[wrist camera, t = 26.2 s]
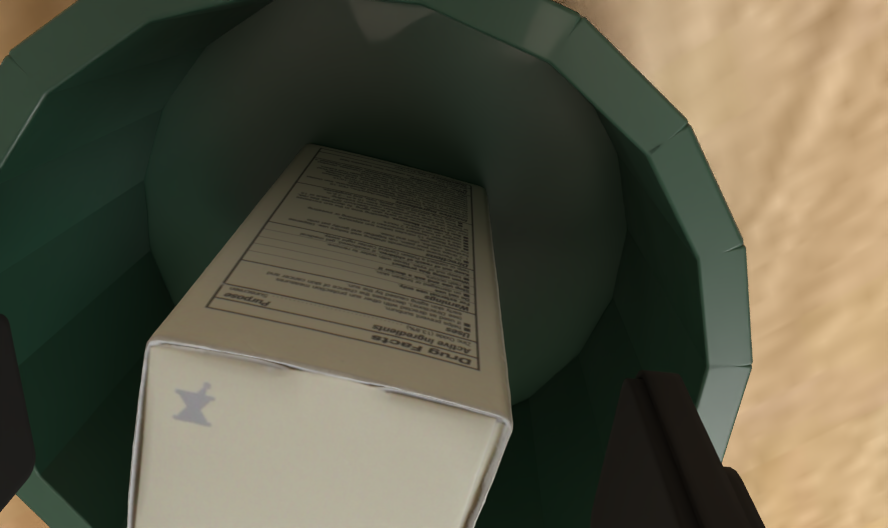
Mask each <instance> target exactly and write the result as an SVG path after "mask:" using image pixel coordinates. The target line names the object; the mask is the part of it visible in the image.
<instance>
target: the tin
mask: <svg viewBox="0 0 888 528" xmlns="http://www.w3.org/2000/svg"><path fill="white" fill-rule="evenodd" d="M307 144H315V145H319V146H324V147H329V148H333V149H338V150H342V151H347V152H351V153H355V154H360V155H364V156H367V157H372V158H376V159H380V160H384V161H388V162H392V163H396V164H400V165H404V166H408V167H412V168H416V169H420V170H423V171H427V172H431V173H434V174H438V175H442V176H446V177H449V178H452V179H456V180H460V181H463V182H467V183H470V184H474V185H478V186H480V187H482V188H484V189H485V190H486V192H487V197H488V206H489V216H490V223H491V230H492V242H493V250H494V259H495V266H496V273H497V281H498V288H499V300H500V309H501V320H502V327H503V335H504V344H505V352H506V359H507V366H508V380H509V387H510V394H511V409H512V418H513V431H512V433H511V436H510V438H509V441H508V443H507V445H506V448H505V451H504V453H503V456H502V459H501V461H500V464H499V467H498V470H497V472H496V475H495V478H494V480H493V483H492V485H491V487H490V490H489V492H488V494H487V497H486V500H485V503H484V505H483V507H482V510H481V512H480V514H479V516H478V519H477V521H476V524H475V527H474V528H590V525H591V513H592V508H593V504H594V499H595V495H596V491H597V487H598V483H599V479H600V475H601V470H602V466H603V462H604V458H605V454H606V450H607V446H608V441H609V437H610V433H611V429H612V425H613V421H614V417H615V412H616V408H617V404H618V400H619V396H620V392H621V388H622V384H623V382H624V380H625V379H626V378H632V379H635V378H636V375H637V373H638V372H639V371H640V370H648V371H658V372H667V373H676V374H679V375H680V376H681V378H682V380H683V382H684V384H685V386H686V388H687V390H688V392H689V395H690V397H691V399H692V401H693V403H694V405H695V407H696V410H697V412H698V414H699V416H700V418H701V420H702V422H703V425H704V427H705V429H706V431H707V433H708V435H709V437H710V440H711V442H712V444H713V446H714V448H715V450H716V452H717V455H718V457H719V459H720V461H721V463H722V460H723V457H724V454H725V451H726V448H727V445H728V441H729V438H730V435H731V432H732V429H733V426H734V423H735V419H736V416H737V413H738V410H739V407H740V404H741V400H742V397H743V394H744V391H745V388H746V385H747V382H748V378H749V375H750V372H751V369H752V365H751V364H752V362H753V359H752V342H751V325H750V308H749V292H748V275H747V258H746V247H745V245H744V244H743V238H742V236H741V233H740V231H739V229H738V227H737V225H736V222H735V220H734V218H733V216H732V214H731V212H730V209H729V207H728V205H727V203H726V201H725V198H724V196H723V194H722V192H721V190H720V188H719V185H718V183H717V181H716V179H715V177H714V174H713V172H712V170H711V168H710V166H709V164H708V161H707V159H706V157H705V155H704V153H703V151H702V148H701V146H700V144H699V142H698V140H697V137H696V135H695V133H694V131H693V129H692V127H691V125H689V124H688V120H687V119H686V118H685V117H684V116H683V115H682V114H681V113H680V112H679V111H678V110H677V109H676V108H675V107H674V106H673V105H672V104H671V103H670V102H669V101H668V100H667V99H666V98H665V97H664V96H663V95H662V94H661V93H660V92H659V91H658V90H657V89H656V88H655V87H654V86H653V85H652V84H651V83H650V82H649V81H648V80H647V79H646V78H645V77H644V76H643V75H642V74H641V73H640V72H639V71H638V70H637V69H636V68H635V67H634V66H633V65H632V64H631V63H630V62H629V61H628V60H627V59H626V58H625V57H624V56H623V55H622V54H621V53H620V52H619V51H618V50H617V49H616V48H615V47H614V46H613V45H612V44H611V43H610V42H609V41H608V40H607V39H606V38H605V37H604V36H603V35H602V34H601V33H600V32H599V31H598V30H597V29H596V28H595V27H594V26H593V25H592V24H591V23H590V22H589V21H588V20H587V19H586V18H585V17H583V16H581V15H580V14H579V13H577V12H575V11H573V10H571V9H569V8H567V7H565V6H563V5H561V4H559V3H557V2H555V1H553V0H77V1H76V2H75V3H73V4H72V5H71V6H69V7H68V8H67V9H65V10H64V11H63V12H61V13H60V14H58V15H57V16H56V17H54V18H53V19H52V20H50V21H49V22H48V23H46V24H45V25H44V26H42V27H41V28H40V29H38V30H37V31H36V32H34V33H33V34H31V35H30V36H29V37H27V38H26V39H25V40H23V41H22V42H21V43H19V44H18V45H17V46H15V47H14V48H13V49H11V51H10V52H9V55H7V56H6V57H5V58H4V60H3V62H2V63H1V65H0V314H3V315H5V316H6V317H7V319H8V321H9V324H10V328H11V333H12V338H13V343H14V348H15V353H16V358H17V363H18V368H19V373H20V378H21V383H22V388H23V393H24V398H25V403H26V408H27V413H28V418H29V423H30V428H31V433H32V438H33V443H34V448H35V453H36V460H35V465H34V469H33V471H32V473H31V475H30V477H29V478H28V480H27V481H26V482H25V483H24V484H23V486H22V487H21V488H20V489H19V490H18V492H17V493H16V495H17V496H18V497H19V498H20V499H21V500H22V501H23V502H24V503H25V504H26V505H27V506H28V507H29V508H30V509H31V510H33V511H34V512H35V513H36V514H37V515H38V516H39V517H40V518H41V519H42V520H43V521H44V522H45V523H46V524H47V525H48V526H49V527H50V528H127V517H128V492H129V483H130V472H131V461H132V448H133V442H134V433H135V424H136V415H137V407H138V398H139V390H140V384H141V376H142V368H143V360H144V353H145V348H146V344H147V342H148V340H149V339H150V338H151V336H152V335H153V334H154V332H155V331H156V330H157V329H158V327H159V326H160V325H161V324H162V323H163V321H164V320H165V319H166V318H167V317H168V315H169V314H170V313H171V312H172V310H173V309H174V308H175V307H176V305H177V304H178V303H179V302H180V301H181V299H182V298H183V297H184V296H185V294H186V293H187V292H188V291H189V289H190V288H191V287H192V286H193V284H194V283H195V282H196V281H197V279H198V278H199V277H200V276H201V274H202V273H203V272H204V270H205V269H206V268H207V267H208V266H209V264H210V263H211V262H212V261H213V259H214V258H215V257H216V255H217V254H218V253H219V252H220V251H221V249H222V248H223V247H224V246H225V244H226V243H227V242H228V241H229V239H230V238H231V237H232V236H233V234H234V233H235V232H236V231H237V229H238V228H239V227H240V225H241V224H242V223H243V222H244V220H245V219H246V218H247V217H248V215H249V214H250V213H251V212H252V210H253V209H254V208H255V206H256V205H257V204H258V203H259V201H260V200H261V199H262V198H263V197H264V195H265V194H266V193H267V192H268V190H269V189H270V188H271V187H272V185H273V184H274V183H275V182H276V180H277V179H278V178H279V177H280V175H281V174H282V173H283V172H284V170H285V169H286V168H287V167H288V165H289V164H290V163H291V162H292V160H293V159H294V158H295V157H296V155H297V154H298V153H299V152H300V151H301V149H302V148H303V147H304V146H305V145H307Z"/></svg>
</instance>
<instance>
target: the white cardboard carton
mask: <svg viewBox="0 0 888 528" xmlns="http://www.w3.org/2000/svg"><path fill="white" fill-rule="evenodd" d="M512 431H513V418H512V409H511V394H510V387H509V380H508V366H507V359H506V352H505V344H504V335H503V327H502V320H501V309H500V300H499V288H498V281H497V273H496V266H495V259H494V250H493V242H492V230H491V223H490V216H489V206H488V197H487V192H486V190H485V189H484V188H482V187H480V186H478V185H474V184H470V183H467V182H463V181H460V180H456V179H452V178H449V177H446V176H442V175H438V174H434V173H431V172H427V171H423V170H420V169H416V168H412V167H408V166H404V165H400V164H396V163H392V162H388V161H384V160H380V159H376V158H372V157H367V156H364V155H360V154H355V153H351V152H347V151H342V150H338V149H333V148H329V147H324V146H319V145H315V144H307V145H305V146H304V147H303V148H302V149H301V151H300V152H299V153H298V154H297V155H296V157H295V158H294V159H293V160H292V162H291V163H290V164H289V165H288V167H287V168H286V169H285V170H284V172H283V173H282V174H281V175H280V177H279V178H278V179H277V180H276V182H275V183H274V184H273V185H272V187H271V188H270V189H269V190H268V192H267V193H266V194H265V195H264V197H263V198H262V199H261V200H260V201H259V203H258V204H257V205H256V206H255V208H254V209H253V210H252V212H251V213H250V214H249V215H248V217H247V218H246V219H245V220H244V222H243V223H242V224H241V225H240V227H239V228H238V229H237V231H236V232H235V233H234V234H233V236H232V237H231V238H230V239H229V241H228V242H227V243H226V244H225V246H224V247H223V248H222V249H221V251H220V252H219V253H218V254H217V255H216V257H215V258H214V259H213V261H212V262H211V263H210V264H209V266H208V267H207V268H206V269H205V270H204V272H203V273H202V274H201V276H200V277H199V278H198V279H197V281H196V282H195V283H194V284H193V286H192V287H191V288H190V289H189V291H188V292H187V293H186V294H185V296H184V297H183V298H182V299H181V301H180V302H179V303H178V304H177V305H176V307H175V308H174V309H173V310H172V312H171V313H170V314H169V315H168V317H167V318H166V319H165V320H164V321H163V323H162V324H161V325H160V326H159V327H158V329H157V330H156V331H155V332H154V334H153V335H152V336H151V338H150V339H149V340H148V342H147V344H146V348H145V353H144V360H143V368H142V376H141V384H140V390H139V398H138V407H137V415H136V424H135V433H134V442H133V448H132V461H131V472H130V483H129V492H128V517H127V528H474V527H475V524H476V521H477V519H478V516H479V514H480V512H481V510H482V507H483V505H484V503H485V500H486V497H487V494H488V492H489V490H490V487H491V485H492V483H493V480H494V478H495V475H496V472H497V470H498V467H499V464H500V461H501V459H502V456H503V453H504V451H505V448H506V445H507V443H508V441H509V438H510V436H511V433H512Z"/></svg>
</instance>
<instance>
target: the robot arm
mask: <svg viewBox="0 0 888 528" xmlns="http://www.w3.org/2000/svg"><path fill="white" fill-rule="evenodd" d="M35 460H36V453H35V448H34V443H33V438H32V433H31V428H30V423H29V418H28V413H27V408H26V403H25V398H24V393H23V388H22V383H21V378H20V373H19V368H18V363H17V358H16V353H15V348H14V343H13V338H12V333H11V328H10V324H9V321H8V319H7V317H6V316H5V315H3V314H0V512H1V511H2V509H3V508H4V507H5V506H6V505H7V504H8V502H9V501H10V500H11V499H12V498H13V496H14V495H15V494H16V493H17V492H18V490H19V489H20V488H21V487H22V486H23V484H24V483H25V482H26V481H27V480H28V478H29V477H30V475H31V473H32V471H33V469H34V465H35ZM590 528H765V526H764V524H763V522H762V520H761V518H760V516H759V514H758V512H757V510H756V507H755V505H754V503H753V501H752V499H751V497H750V495H749V493H748V491H747V489H746V487H745V485H744V483H743V481H742V479H741V477H740V476H739V474H738V473H737V471H735V470H734V469H732V468H731V467H723V465H722V463H721V461H720V459H719V457H718V455H717V452H716V450H715V448H714V446H713V444H712V442H711V440H710V437H709V435H708V433H707V431H706V429H705V427H704V425H703V422H702V420H701V418H700V416H699V414H698V412H697V410H696V407H695V405H694V403H693V401H692V399H691V397H690V395H689V392H688V390H687V388H686V386H685V384H684V382H683V380H682V378H681V376H680V375H679V374H676V373H667V372H658V371H648V370H640V371H639V372H638V373H637V375H636V378H635V379H632V378H626V379H625V380H624V382H623V384H622V388H621V392H620V396H619V400H618V404H617V408H616V412H615V417H614V421H613V425H612V429H611V433H610V437H609V441H608V446H607V450H606V454H605V458H604V462H603V466H602V470H601V475H600V479H599V483H598V487H597V491H596V495H595V499H594V504H593V508H592V513H591V525H590Z"/></svg>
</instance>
